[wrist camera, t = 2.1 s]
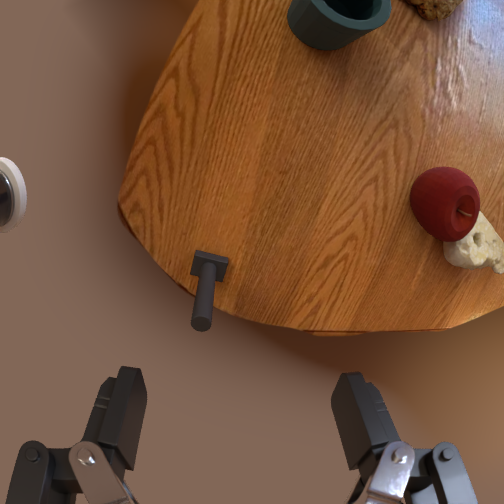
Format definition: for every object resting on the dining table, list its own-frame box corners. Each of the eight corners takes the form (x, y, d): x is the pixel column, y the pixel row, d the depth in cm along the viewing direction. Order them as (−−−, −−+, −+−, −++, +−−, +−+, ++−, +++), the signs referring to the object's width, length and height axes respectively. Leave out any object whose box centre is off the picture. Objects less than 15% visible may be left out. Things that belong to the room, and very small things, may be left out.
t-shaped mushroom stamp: (191, 268, 40) (176, 329, 28) (196, 249, 38) (181, 306, 27) (222, 276, 40) (219, 339, 29) (228, 257, 39) (226, 317, 28)
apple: (395, 224, 38) (433, 255, 29) (398, 158, 34) (443, 174, 25) (443, 220, 38) (483, 247, 29) (448, 160, 34) (494, 176, 25)
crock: (278, 35, 27) (294, 6, 18) (297, -16, 24) (318, -52, 15) (345, 61, 29) (381, 45, 20) (360, 10, 25) (397, -15, 16)
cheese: (412, 221, 40) (450, 308, 37) (441, 200, 34) (484, 298, 30) (458, 201, 44) (491, 273, 41) (483, 183, 37) (518, 261, 34)
